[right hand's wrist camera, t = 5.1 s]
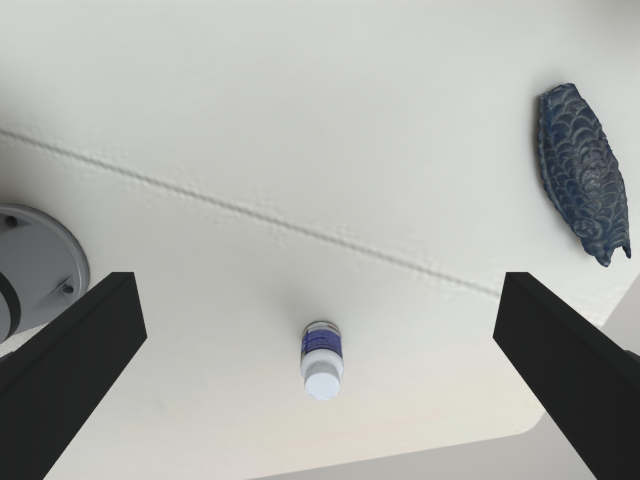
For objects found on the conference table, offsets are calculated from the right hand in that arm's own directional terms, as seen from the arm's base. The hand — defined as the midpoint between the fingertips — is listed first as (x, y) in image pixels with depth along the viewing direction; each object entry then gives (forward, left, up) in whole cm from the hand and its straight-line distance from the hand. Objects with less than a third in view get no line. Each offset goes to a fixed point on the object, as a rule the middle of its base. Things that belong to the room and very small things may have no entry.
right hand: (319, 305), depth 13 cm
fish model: (+25, -13, -29) cm, 41 cm away
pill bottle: (-10, -20, -29) cm, 37 cm away
